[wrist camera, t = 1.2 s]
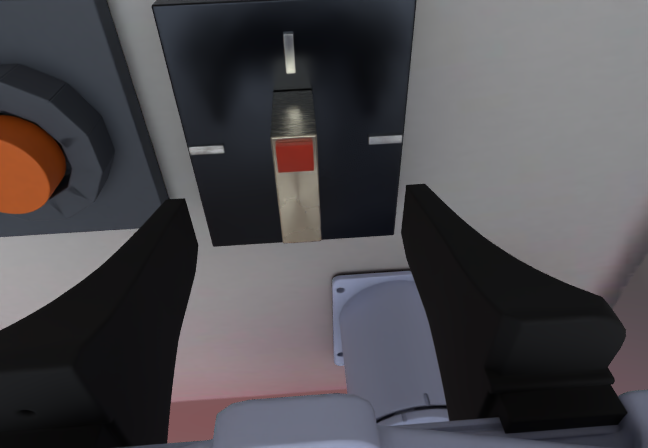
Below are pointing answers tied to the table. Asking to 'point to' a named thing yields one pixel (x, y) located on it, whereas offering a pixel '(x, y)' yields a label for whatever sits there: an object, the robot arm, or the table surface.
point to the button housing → (78, 116)
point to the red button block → (296, 165)
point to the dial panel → (282, 76)
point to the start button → (27, 165)
